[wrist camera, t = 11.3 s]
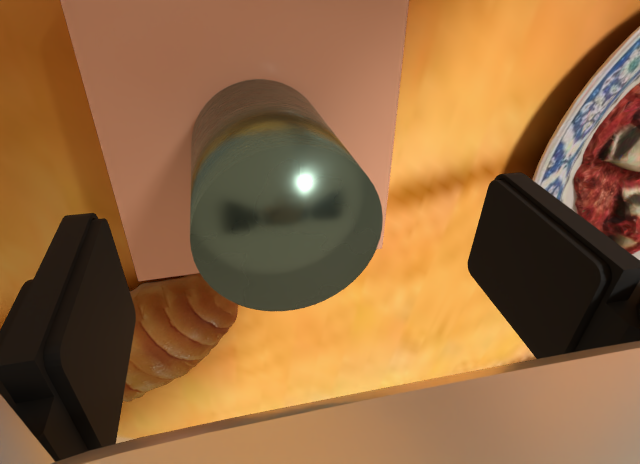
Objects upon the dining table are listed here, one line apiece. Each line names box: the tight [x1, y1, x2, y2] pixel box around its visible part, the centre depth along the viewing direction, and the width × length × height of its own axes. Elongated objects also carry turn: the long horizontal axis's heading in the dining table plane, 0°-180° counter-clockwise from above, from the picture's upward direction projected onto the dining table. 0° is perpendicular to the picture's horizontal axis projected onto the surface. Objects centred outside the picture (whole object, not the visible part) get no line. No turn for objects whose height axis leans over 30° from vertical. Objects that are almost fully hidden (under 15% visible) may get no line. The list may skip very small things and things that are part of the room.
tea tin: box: [190, 79, 383, 311], centre depth 15 cm, size 6×6×7 cm
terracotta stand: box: [60, 0, 409, 281], centre depth 20 cm, size 12×12×4 cm
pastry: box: [123, 273, 238, 402], centre depth 25 cm, size 9×7×4 cm
